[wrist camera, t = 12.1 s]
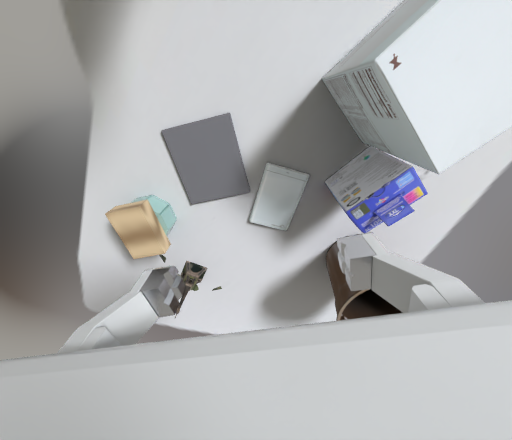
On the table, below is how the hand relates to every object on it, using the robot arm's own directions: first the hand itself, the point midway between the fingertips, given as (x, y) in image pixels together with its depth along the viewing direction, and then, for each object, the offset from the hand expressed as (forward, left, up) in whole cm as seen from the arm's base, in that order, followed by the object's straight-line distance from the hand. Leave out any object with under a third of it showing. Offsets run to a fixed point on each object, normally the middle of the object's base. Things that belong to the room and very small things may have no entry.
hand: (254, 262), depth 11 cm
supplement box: (-6, +21, -31) cm, 38 cm away
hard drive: (+11, +1, -32) cm, 34 cm away
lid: (+9, -25, -27) cm, 37 cm away
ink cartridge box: (+9, +15, -31) cm, 36 cm away
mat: (+1, -10, -31) cm, 33 cm away
